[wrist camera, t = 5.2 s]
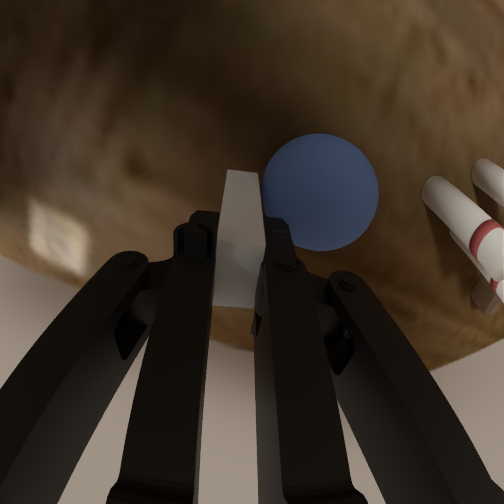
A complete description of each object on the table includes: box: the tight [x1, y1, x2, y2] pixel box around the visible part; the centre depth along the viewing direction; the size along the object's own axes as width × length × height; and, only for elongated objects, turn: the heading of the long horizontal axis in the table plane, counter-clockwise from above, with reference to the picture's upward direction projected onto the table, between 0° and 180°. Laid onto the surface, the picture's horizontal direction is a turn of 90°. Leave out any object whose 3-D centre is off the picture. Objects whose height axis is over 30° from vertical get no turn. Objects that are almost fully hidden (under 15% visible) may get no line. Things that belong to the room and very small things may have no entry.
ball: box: [261, 133, 379, 251], centre depth 15 cm, size 6×6×6 cm
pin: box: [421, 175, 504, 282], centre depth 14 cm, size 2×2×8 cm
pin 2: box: [450, 229, 504, 303], centre depth 16 cm, size 2×2×8 cm
